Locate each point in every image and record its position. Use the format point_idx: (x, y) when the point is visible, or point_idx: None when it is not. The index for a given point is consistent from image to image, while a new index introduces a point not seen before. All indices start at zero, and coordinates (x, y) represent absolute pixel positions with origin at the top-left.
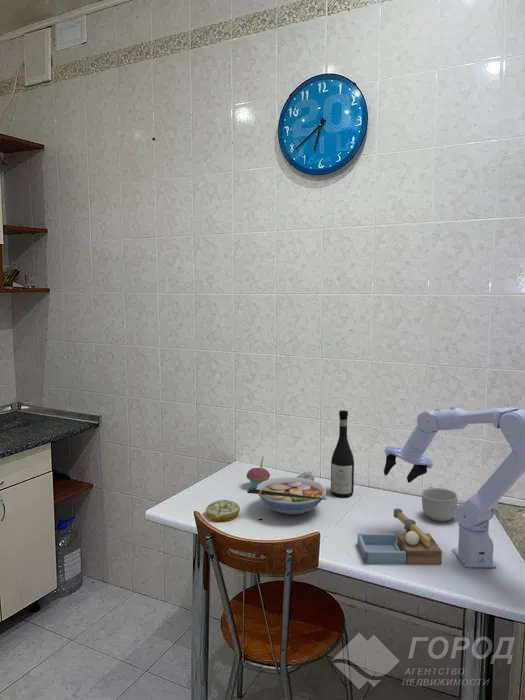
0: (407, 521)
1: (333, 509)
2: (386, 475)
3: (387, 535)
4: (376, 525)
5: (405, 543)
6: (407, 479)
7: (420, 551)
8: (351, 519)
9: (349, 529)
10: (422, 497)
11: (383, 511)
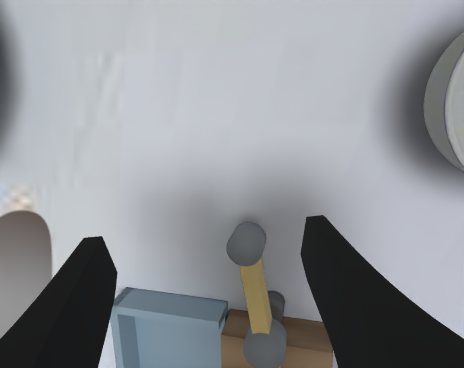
0: (252, 350)
1: (63, 34)
2: (116, 275)
3: (193, 324)
4: (196, 174)
5: None
6: (304, 239)
7: None
8: (120, 125)
9: (111, 200)
10: (443, 91)
11: (249, 39)
